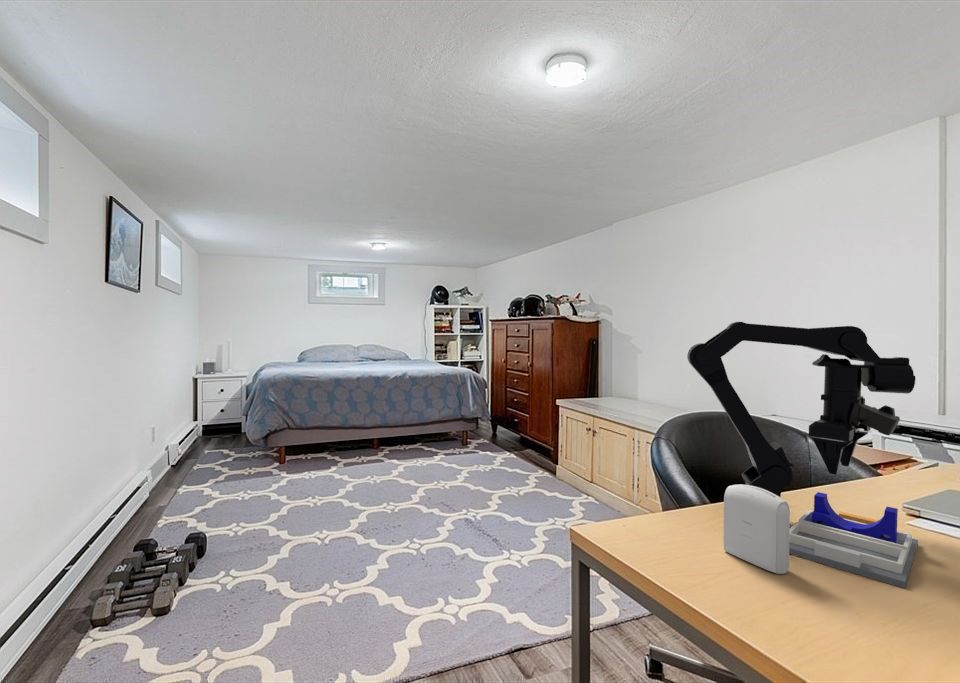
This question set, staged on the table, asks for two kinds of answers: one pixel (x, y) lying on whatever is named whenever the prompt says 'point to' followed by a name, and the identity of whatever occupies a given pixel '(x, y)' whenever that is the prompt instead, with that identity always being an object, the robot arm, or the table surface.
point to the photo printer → (757, 527)
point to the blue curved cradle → (876, 530)
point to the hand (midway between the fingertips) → (839, 469)
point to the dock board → (854, 549)
